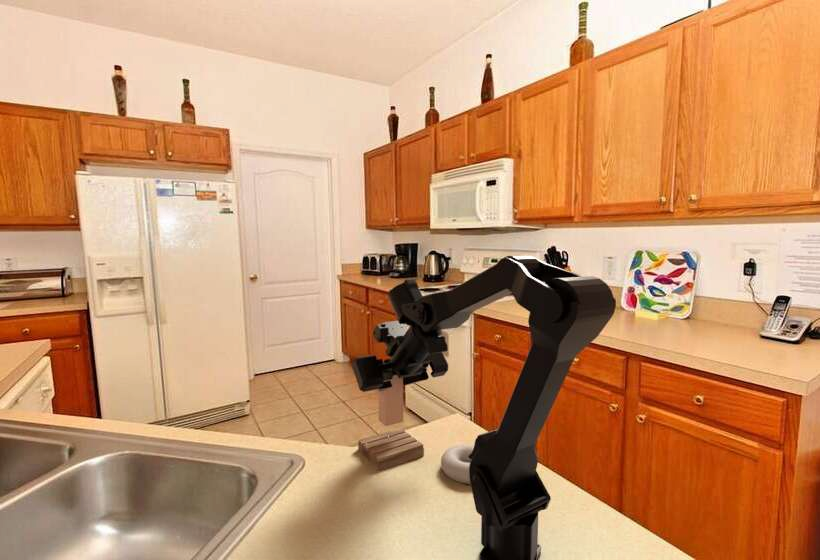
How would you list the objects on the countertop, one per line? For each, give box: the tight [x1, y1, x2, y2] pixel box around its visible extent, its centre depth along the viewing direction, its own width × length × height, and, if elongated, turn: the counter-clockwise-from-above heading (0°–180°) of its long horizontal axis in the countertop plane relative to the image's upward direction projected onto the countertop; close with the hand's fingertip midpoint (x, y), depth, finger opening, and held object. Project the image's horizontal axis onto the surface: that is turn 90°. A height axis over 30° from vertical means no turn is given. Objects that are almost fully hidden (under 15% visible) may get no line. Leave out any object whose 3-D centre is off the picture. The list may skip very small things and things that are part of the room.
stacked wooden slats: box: [357, 427, 425, 471], centre depth 80 cm, size 9×10×2 cm
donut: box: [440, 444, 474, 485], centre depth 73 cm, size 10×4×10 cm
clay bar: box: [377, 376, 404, 427], centre depth 80 cm, size 3×4×11 cm
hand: (387, 387), depth 81 cm, fingers closed on clay bar, 4 cm apart
